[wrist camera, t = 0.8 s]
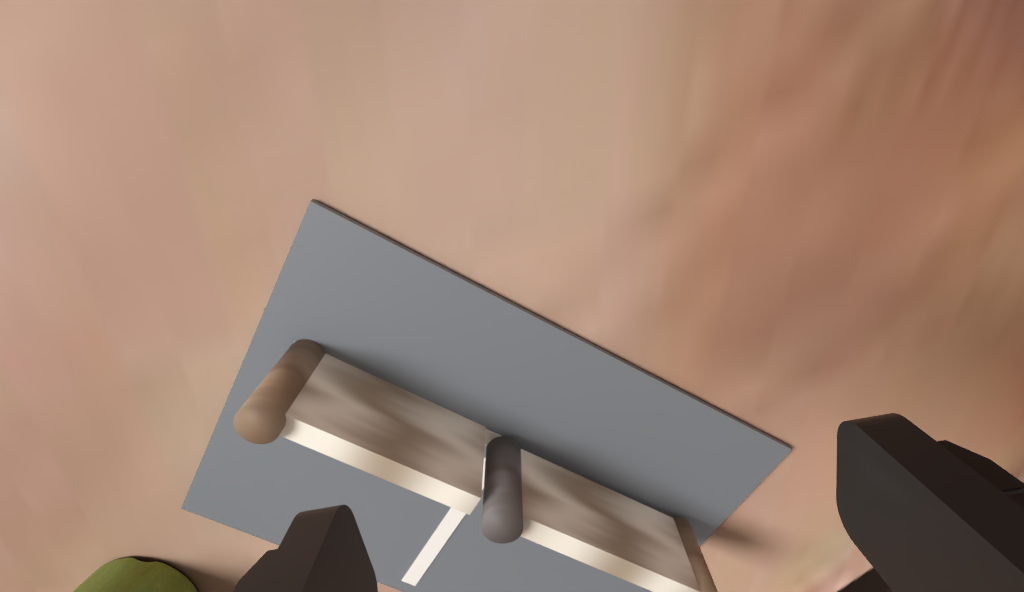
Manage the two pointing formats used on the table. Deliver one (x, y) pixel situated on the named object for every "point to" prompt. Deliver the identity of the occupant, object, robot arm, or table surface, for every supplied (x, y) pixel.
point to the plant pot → (136, 578)
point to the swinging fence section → (587, 522)
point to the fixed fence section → (367, 425)
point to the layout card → (476, 396)
